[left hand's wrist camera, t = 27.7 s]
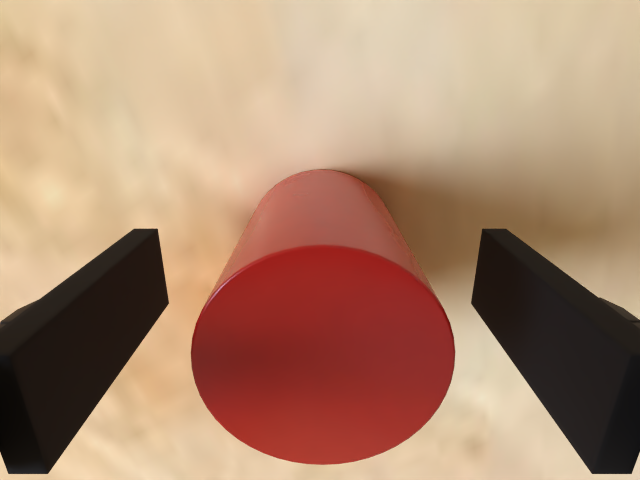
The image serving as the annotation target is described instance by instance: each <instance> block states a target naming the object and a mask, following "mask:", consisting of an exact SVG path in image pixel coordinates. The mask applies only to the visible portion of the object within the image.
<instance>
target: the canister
mask: <svg viewBox="0 0 640 480" xmlns="http://www.w3.org/2000/svg"><path fill="white" fill-rule="evenodd" d="M191 363H192V371H193V375H194V380H195V383H196V386H197V389H198V391H199V394H200V396H201V398H202V400H203V401H204V403H205V405H206V407H207V408H208V410H209V411H210V412H211V414H212V415H213V416H214V418H215V419H216V420H217V421H218V422H219V423H220V424H221V425H222V426H223V427H224V428H225V429H226V430H227V431H228V432H230V433H231V434H232V435H233V436H235V437H236V438H237V439H239V440H240V441H242V442H243V443H245V444H247V445H248V446H250V447H252V448H254V449H256V450H258V451H260V452H262V453H265V454H267V455H270V456H273V457H276V458H279V459H283V460H287V461H291V462H297V463H304V464H318V465H328V464H342V463H348V462H354V461H358V460H362V459H366V458H370V457H372V456H375V455H378V454H381V453H383V452H385V451H387V450H389V449H392V448H394V447H396V446H397V445H399V444H401V443H402V442H404V441H405V440H407V439H408V438H410V437H411V436H412V435H414V434H415V433H416V432H417V431H419V430H420V429H421V428H422V427H423V426H424V425H425V424H426V423H427V422H428V421H429V420H430V419H431V417H432V416H433V415H434V413H435V412H436V411H437V409H438V408H439V406H440V405H441V403H442V401H443V399H444V397H445V396H446V393H447V391H448V388H449V386H450V383H451V380H452V375H453V370H454V364H455V345H454V336H453V333H452V329H451V325H450V322H449V320H448V317H447V315H446V313H445V311H444V308H443V307H442V305H441V303H440V301H439V300H438V298H437V296H436V294H435V293H434V291H433V289H432V287H431V285H430V284H429V282H428V280H427V278H426V277H425V275H424V273H423V271H422V270H421V268H420V266H419V264H418V262H417V261H416V259H415V257H414V255H413V254H412V252H411V250H410V248H409V247H408V245H407V243H406V241H405V239H404V238H403V236H402V234H401V232H400V231H399V229H398V227H397V225H396V224H395V222H394V220H393V218H392V216H391V215H390V213H389V211H388V209H387V208H386V206H385V204H384V203H383V201H382V200H381V198H380V197H379V196H378V195H377V193H376V192H375V191H374V190H373V189H372V188H370V187H369V186H368V185H367V184H365V183H364V182H362V181H361V180H359V179H357V178H355V177H353V176H351V175H349V174H346V173H343V172H338V171H333V170H310V171H305V172H301V173H298V174H295V175H292V176H290V177H288V178H286V179H284V180H283V181H281V182H280V183H278V184H277V185H275V186H274V187H273V188H272V189H271V190H270V191H269V192H268V193H267V194H266V195H265V196H264V198H263V199H262V200H261V202H260V203H259V205H258V207H257V208H256V210H255V212H254V214H253V216H252V218H251V220H250V222H249V223H248V225H247V227H246V229H245V231H244V233H243V235H242V236H241V238H240V240H239V242H238V244H237V246H236V248H235V249H234V251H233V253H232V255H231V257H230V259H229V261H228V262H227V264H226V266H225V268H224V270H223V272H222V274H221V276H220V277H219V279H218V281H217V283H216V285H215V287H214V289H213V290H212V292H211V294H210V296H209V298H208V300H207V302H206V303H205V305H204V307H203V309H202V311H201V314H200V316H199V318H198V320H197V323H196V326H195V330H194V333H193V337H192V346H191Z"/></svg>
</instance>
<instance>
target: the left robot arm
mask: <svg viewBox="0 0 640 480" xmlns="http://www.w3.org/2000/svg"><path fill="white" fill-rule="evenodd" d="M168 304H169V301H168V294H167V288H166V281H165V274H164V268H163V261H162V255H161V248H160V241H159V235H158V229H133V230H132V231H131V232H129V233H128V234H127V235H125V236H124V237H122V238H121V239H120V240H118V241H117V242H116V243H114V244H113V245H112V246H110V247H109V248H108V249H106V250H105V251H104V252H102V253H101V254H100V255H98V256H97V257H96V258H94V259H93V260H92V261H90V262H89V263H88V264H86V265H85V266H84V267H82V268H81V269H80V270H78V271H77V272H76V273H74V274H73V275H71V276H70V277H69V278H67V279H66V280H65V281H63V282H62V283H61V284H59V285H58V286H57V287H55V288H54V289H53V290H51V291H50V292H49V293H47V294H46V295H45V296H43V297H42V298H41V299H39V300H37V301H35V302H33V303H31V304H28V305H26V306H24V307H22V308H20V309H18V310H16V311H15V312H13V313H12V314H11V315H9V316H8V317H6V318H5V319H4V320H2V321H1V322H0V452H1V455H2V458H3V460H4V463H5V466H6V468H7V471H8V474H48V473H49V472H50V470H51V469H52V467H53V466H54V465H55V463H56V462H57V460H58V459H59V458H60V456H61V455H62V453H63V452H64V450H65V449H66V448H67V446H68V445H69V443H70V442H71V441H72V439H73V438H74V436H75V435H76V434H77V432H78V431H79V429H80V428H81V426H82V425H83V424H84V422H85V421H86V419H87V418H88V417H89V415H90V414H91V412H92V411H93V410H94V408H95V407H96V405H97V404H98V403H99V401H100V400H101V398H102V397H103V395H104V394H105V393H106V391H107V390H108V388H109V387H110V386H111V384H112V383H113V381H114V380H115V379H116V377H117V376H118V374H119V373H120V372H121V370H122V369H123V367H124V366H125V364H126V363H127V362H128V360H129V359H130V357H131V356H132V355H133V353H134V352H135V350H136V349H137V348H138V346H139V345H140V343H141V342H142V340H143V339H144V338H145V336H146V335H147V333H148V332H149V331H150V329H151V328H152V326H153V325H154V324H155V322H156V321H157V319H158V318H159V317H160V315H161V314H162V312H163V311H164V309H165V308H166V307H167V305H168ZM471 304H472V305H473V307H474V308H475V309H476V311H477V312H478V314H479V315H480V317H481V318H482V319H483V321H484V322H485V324H486V325H487V326H488V328H489V329H490V331H491V332H492V333H493V335H494V336H495V338H496V339H497V340H498V342H499V343H500V345H501V346H502V348H503V349H504V350H505V352H506V353H507V355H508V356H509V357H510V359H511V360H512V362H513V363H514V364H515V366H516V367H517V369H518V370H519V372H520V373H521V374H522V376H523V377H524V379H525V380H526V381H527V383H528V384H529V386H530V387H531V388H532V390H533V391H534V393H535V394H536V395H537V397H538V398H539V400H540V401H541V403H542V404H543V405H544V407H545V408H546V410H547V411H548V412H549V414H550V415H551V417H552V418H553V419H554V421H555V422H556V424H557V425H558V426H559V428H560V429H561V431H562V432H563V434H564V435H565V436H566V438H567V439H568V441H569V442H570V443H571V445H572V446H573V448H574V449H575V450H576V452H577V453H578V455H579V456H580V457H581V459H582V460H583V462H584V463H585V465H586V466H587V467H588V469H589V470H590V472H591V473H592V474H632V471H633V469H634V466H635V463H636V460H637V458H638V455H639V452H640V320H639V319H638V318H636V317H635V316H633V315H632V314H631V313H629V312H628V311H626V310H625V309H624V308H622V307H620V306H617V305H615V304H613V303H611V302H609V301H607V300H604V299H602V298H598V297H597V296H595V295H594V294H593V293H591V292H590V291H589V290H587V289H586V288H585V287H583V286H582V285H581V284H579V283H578V282H577V281H575V280H574V279H573V278H571V277H570V276H569V275H567V274H566V273H564V272H563V271H562V270H560V269H559V268H558V267H556V266H555V265H554V264H552V263H551V262H550V261H548V260H547V259H546V258H544V257H543V256H542V255H540V254H539V253H538V252H536V251H535V250H534V249H532V248H531V247H530V246H528V245H527V244H526V243H524V242H523V241H522V240H520V239H519V238H518V237H516V236H515V235H514V234H512V233H511V232H509V231H508V230H507V229H482V235H481V241H480V248H479V255H478V261H477V268H476V274H475V281H474V288H473V294H472V301H471Z"/></svg>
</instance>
